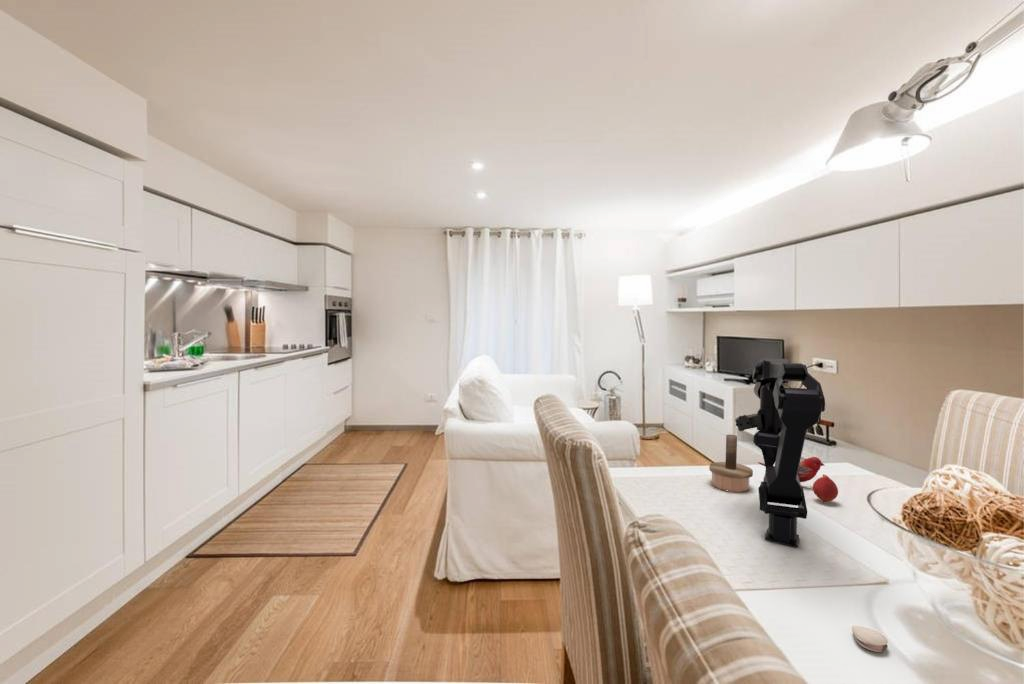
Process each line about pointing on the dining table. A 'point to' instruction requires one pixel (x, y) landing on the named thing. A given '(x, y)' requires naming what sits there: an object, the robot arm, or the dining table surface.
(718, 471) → the lid
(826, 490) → the onion
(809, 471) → the decorative bird figurine
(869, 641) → the beige oval flat piece
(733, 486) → the bowl
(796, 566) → the dining table surface
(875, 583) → the dining table surface
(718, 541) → the dining table surface
